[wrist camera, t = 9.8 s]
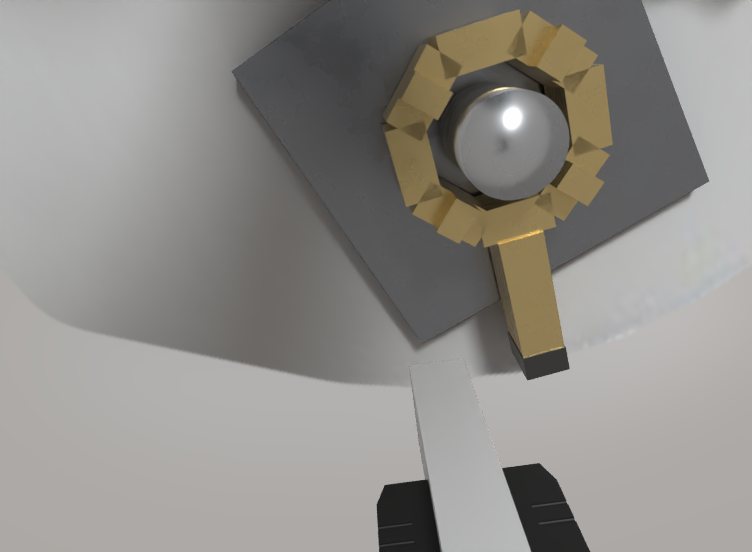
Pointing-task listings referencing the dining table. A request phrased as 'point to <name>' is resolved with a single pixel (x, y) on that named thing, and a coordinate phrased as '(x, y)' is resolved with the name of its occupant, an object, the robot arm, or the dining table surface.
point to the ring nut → (490, 215)
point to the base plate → (359, 167)
